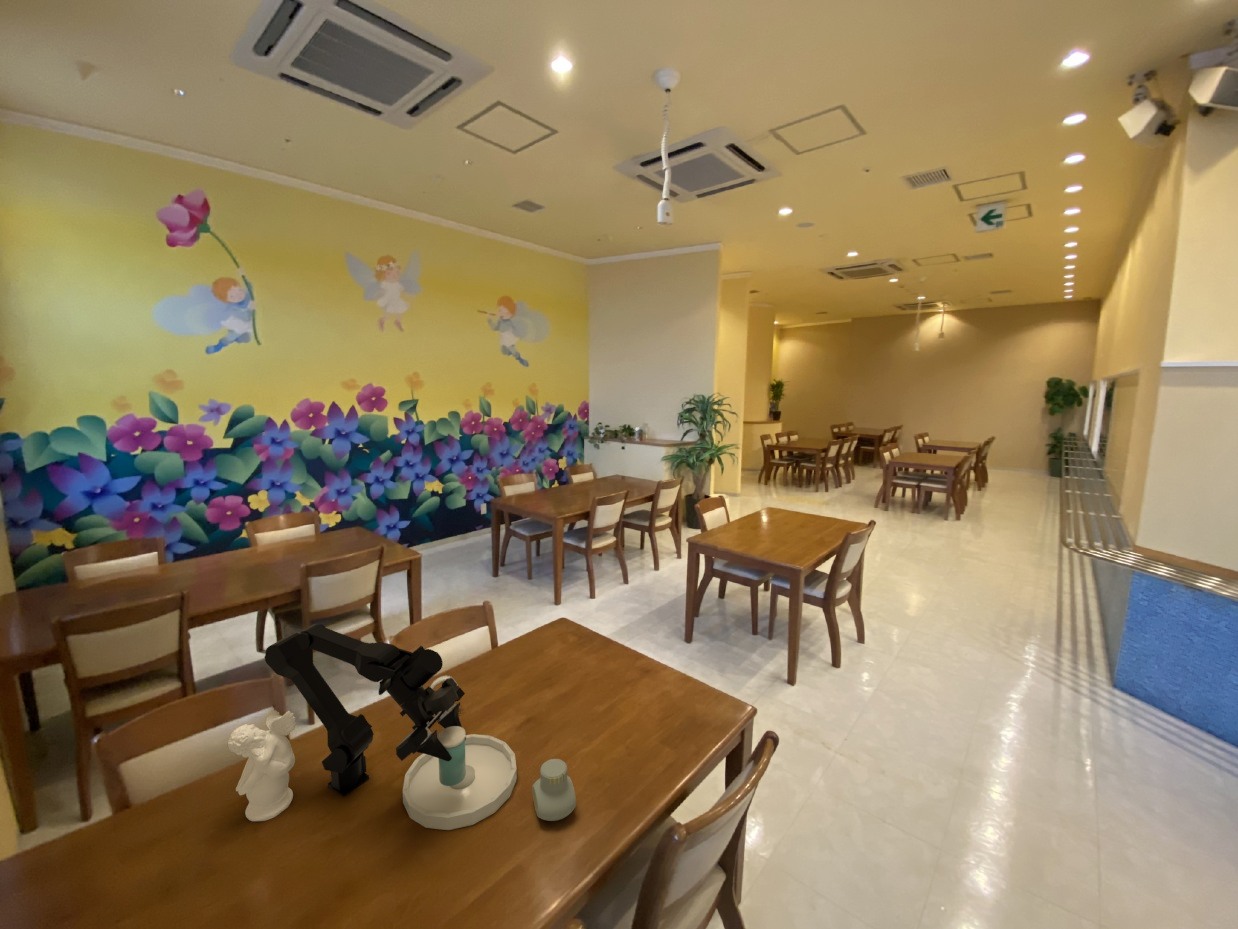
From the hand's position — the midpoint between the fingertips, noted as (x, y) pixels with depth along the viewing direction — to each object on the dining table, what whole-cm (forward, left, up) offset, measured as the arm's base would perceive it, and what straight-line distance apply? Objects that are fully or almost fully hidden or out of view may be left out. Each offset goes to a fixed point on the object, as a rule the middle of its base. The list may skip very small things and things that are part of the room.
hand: (457, 750), depth 108 cm
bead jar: (0, +1, -7) cm, 7 cm away
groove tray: (+5, +4, -14) cm, 15 cm away
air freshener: (+10, -19, -14) cm, 25 cm away
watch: (+21, +27, -14) cm, 37 cm away
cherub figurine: (-19, +37, -14) cm, 44 cm away
